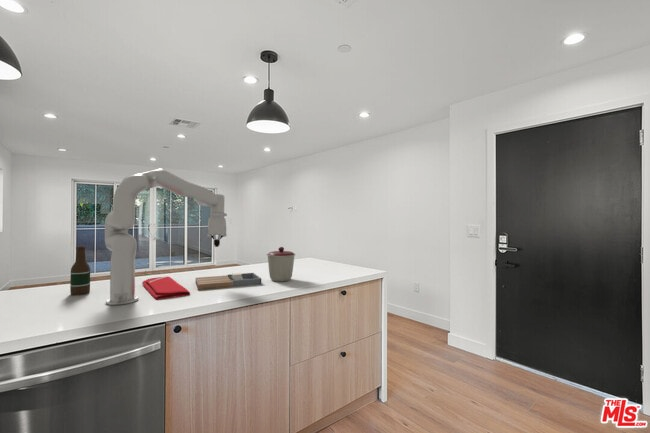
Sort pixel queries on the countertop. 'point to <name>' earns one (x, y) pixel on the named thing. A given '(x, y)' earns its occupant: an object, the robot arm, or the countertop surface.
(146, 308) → the countertop surface
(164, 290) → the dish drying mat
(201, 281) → the walnut board
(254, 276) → the tray
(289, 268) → the canister
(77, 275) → the beer bottle
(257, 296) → the countertop surface
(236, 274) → the tile
